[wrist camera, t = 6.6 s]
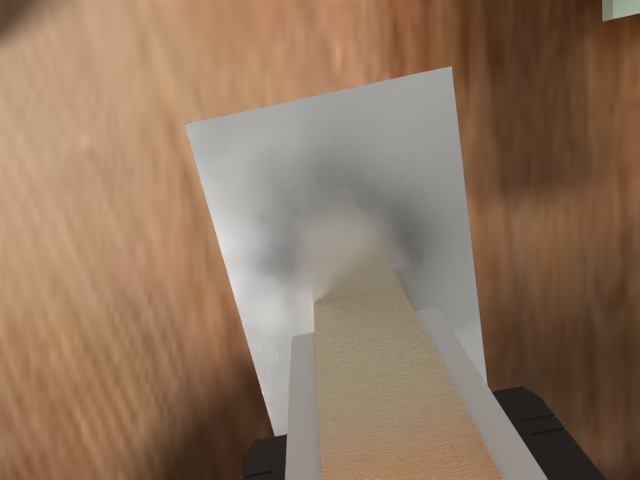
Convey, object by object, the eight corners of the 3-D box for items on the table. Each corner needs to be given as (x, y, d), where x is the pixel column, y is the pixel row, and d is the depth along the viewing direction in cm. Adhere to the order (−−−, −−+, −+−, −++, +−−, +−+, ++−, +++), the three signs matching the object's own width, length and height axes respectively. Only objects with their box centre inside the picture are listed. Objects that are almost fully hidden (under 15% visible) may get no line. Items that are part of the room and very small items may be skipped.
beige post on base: (489, 470, 19) (680, 849, 9) (301, 506, 19) (300, 913, 10) (441, 68, 14) (730, 2, 5) (192, 123, 14) (-27, 168, 5)
